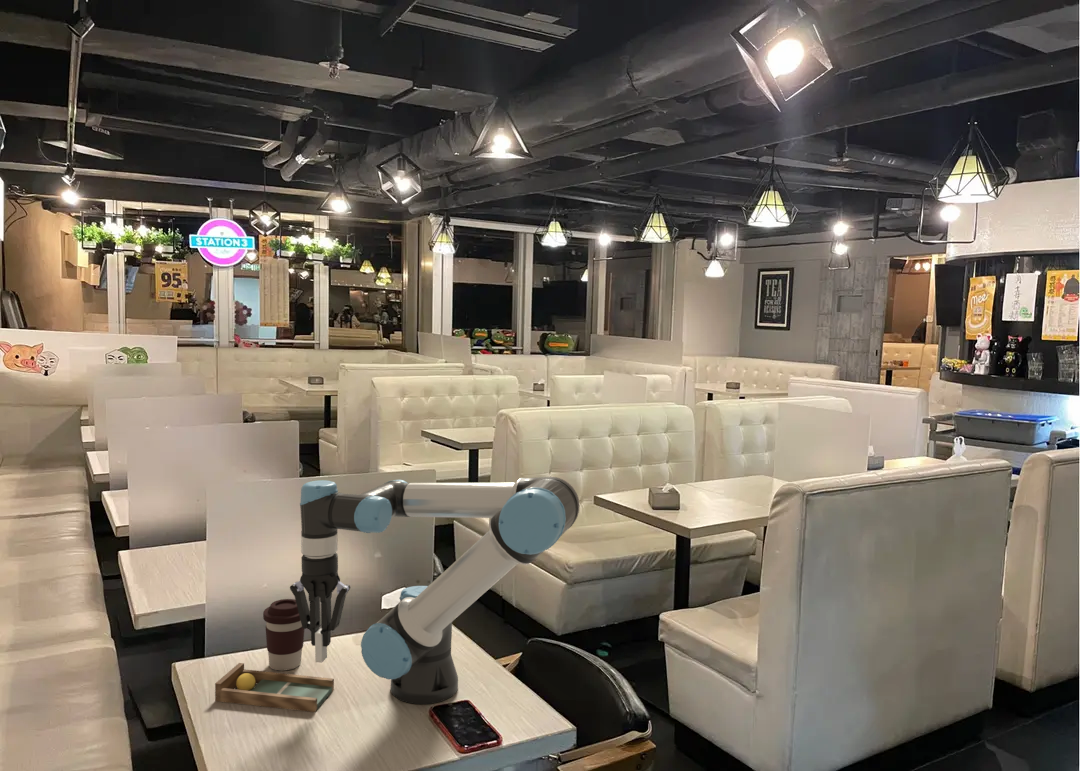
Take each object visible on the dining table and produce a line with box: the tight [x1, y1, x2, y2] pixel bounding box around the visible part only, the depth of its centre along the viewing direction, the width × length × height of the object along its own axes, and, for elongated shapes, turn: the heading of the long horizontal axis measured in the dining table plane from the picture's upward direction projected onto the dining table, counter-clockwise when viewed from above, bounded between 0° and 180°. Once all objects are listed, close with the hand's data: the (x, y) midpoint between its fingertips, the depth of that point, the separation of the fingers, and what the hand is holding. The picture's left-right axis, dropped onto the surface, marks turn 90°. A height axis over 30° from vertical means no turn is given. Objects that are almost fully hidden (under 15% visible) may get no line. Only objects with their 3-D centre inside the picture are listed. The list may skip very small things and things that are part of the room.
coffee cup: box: [262, 598, 305, 672], centre depth 187 cm, size 10×10×15 cm
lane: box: [214, 662, 335, 713], centre depth 173 cm, size 23×10×4 cm, turn 82°
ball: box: [236, 673, 256, 691], centre depth 174 cm, size 4×4×4 cm
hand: (321, 659), depth 170 cm, fingers closed
